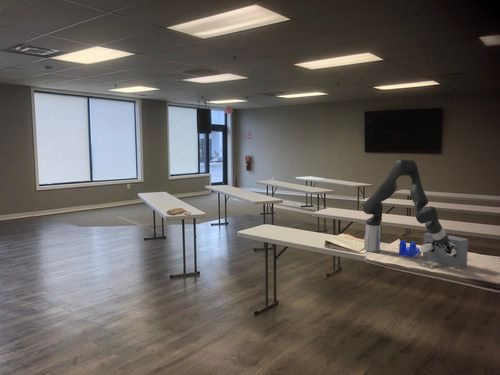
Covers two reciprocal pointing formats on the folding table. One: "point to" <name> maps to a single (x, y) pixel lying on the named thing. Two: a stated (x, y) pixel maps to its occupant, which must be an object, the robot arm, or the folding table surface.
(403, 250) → the bracket
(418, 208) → the robot arm
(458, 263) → the grey button panel
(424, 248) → the far button
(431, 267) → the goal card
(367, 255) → the folding table surface
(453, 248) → the near button
